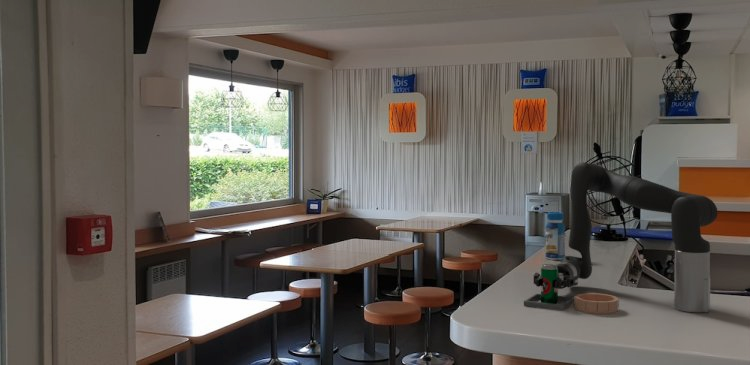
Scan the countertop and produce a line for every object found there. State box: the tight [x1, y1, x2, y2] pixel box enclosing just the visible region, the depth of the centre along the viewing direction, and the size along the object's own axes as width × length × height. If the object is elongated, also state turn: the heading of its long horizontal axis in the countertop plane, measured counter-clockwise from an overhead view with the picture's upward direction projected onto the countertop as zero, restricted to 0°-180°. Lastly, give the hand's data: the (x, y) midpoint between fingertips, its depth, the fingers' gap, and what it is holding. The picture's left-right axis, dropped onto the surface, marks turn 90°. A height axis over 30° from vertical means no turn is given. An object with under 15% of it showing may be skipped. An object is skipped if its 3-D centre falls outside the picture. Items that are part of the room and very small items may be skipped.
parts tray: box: [523, 293, 575, 311], centre depth 203 cm, size 12×12×2 cm
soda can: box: [540, 263, 559, 304], centre depth 203 cm, size 5×5×12 cm
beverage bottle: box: [544, 211, 566, 261], centre depth 288 cm, size 8×8×20 cm
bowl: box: [573, 292, 620, 315], centre depth 196 cm, size 12×12×4 cm
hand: (546, 284), depth 201 cm, fingers closed on soda can, 5 cm apart
